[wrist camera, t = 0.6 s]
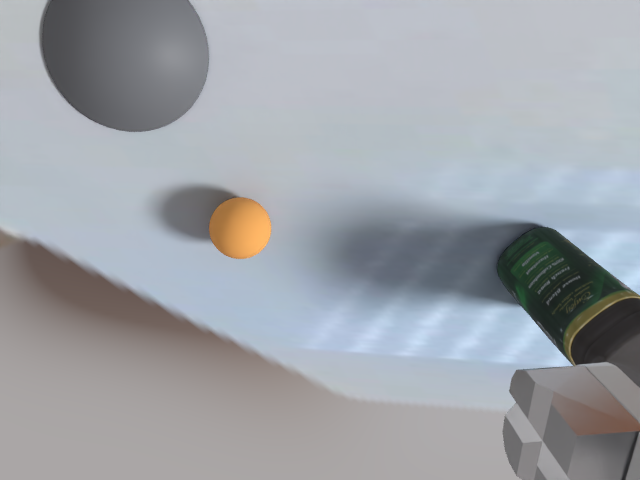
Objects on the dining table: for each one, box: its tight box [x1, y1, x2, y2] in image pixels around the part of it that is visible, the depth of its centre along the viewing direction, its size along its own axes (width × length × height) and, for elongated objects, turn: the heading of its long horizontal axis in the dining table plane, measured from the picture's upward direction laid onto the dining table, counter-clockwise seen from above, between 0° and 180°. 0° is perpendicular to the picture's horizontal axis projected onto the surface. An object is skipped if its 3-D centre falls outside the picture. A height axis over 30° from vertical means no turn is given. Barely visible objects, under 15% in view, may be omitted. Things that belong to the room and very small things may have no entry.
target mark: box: [43, 0, 209, 132], centre depth 46 cm, size 13×13×1 cm
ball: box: [209, 197, 271, 259], centre depth 50 cm, size 6×6×6 cm
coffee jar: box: [497, 227, 640, 388], centre depth 51 cm, size 10×8×19 cm
